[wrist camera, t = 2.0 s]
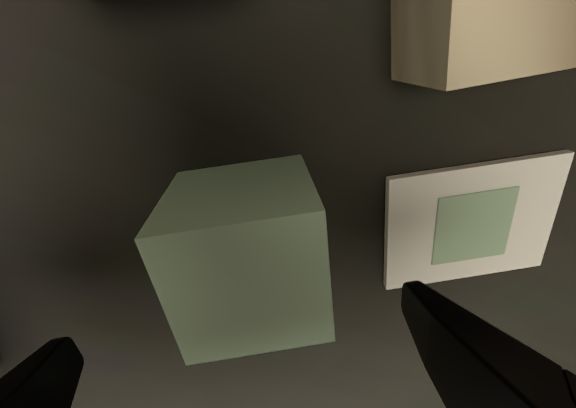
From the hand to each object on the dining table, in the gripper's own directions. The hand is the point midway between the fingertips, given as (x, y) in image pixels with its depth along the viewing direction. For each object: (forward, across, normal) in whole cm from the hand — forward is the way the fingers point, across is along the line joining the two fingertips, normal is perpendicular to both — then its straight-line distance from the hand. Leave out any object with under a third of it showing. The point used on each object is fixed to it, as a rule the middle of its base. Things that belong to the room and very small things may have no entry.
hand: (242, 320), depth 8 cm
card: (+6, -10, +2) cm, 12 cm away
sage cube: (+6, 0, 0) cm, 6 cm away
